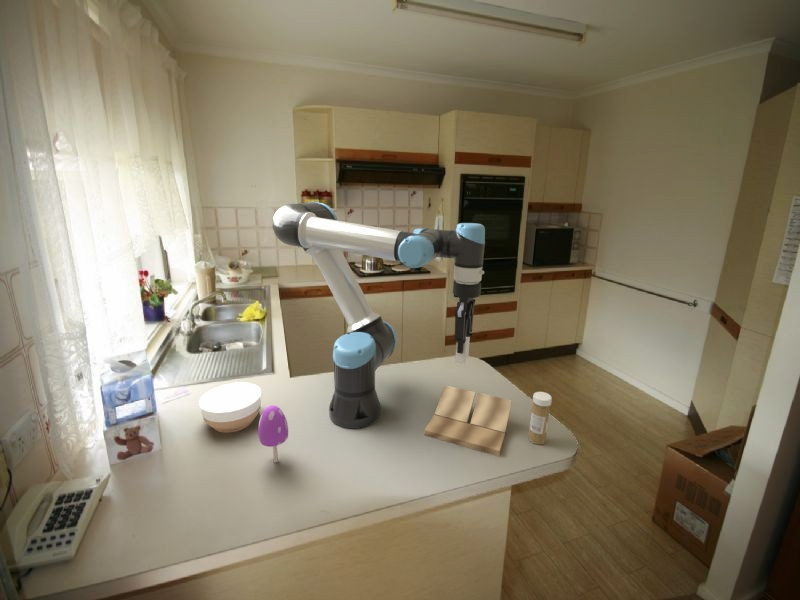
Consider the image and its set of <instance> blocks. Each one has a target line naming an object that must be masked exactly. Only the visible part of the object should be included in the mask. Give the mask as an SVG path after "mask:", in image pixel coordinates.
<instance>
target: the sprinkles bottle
mask: <svg viewBox="0 0 800 600" xmlns="http://www.w3.org/2000/svg"><path fill="white" fill-rule="evenodd" d="M552 399H553V397H552V395H550V394H549V393H548V392H545V391H536V392H535V391H534V393H533V396H532V407H531V408H532V409H531V414H530V421H529V430H528V431H529V432H528V436H527V438H528V440H529V442H531V443H532V444H535V445H538V446H540V445H544V444H546V441H547V439H546V438H547V432H548V426H549V416H550V411H551V410H550V409H551V405H552Z"/></svg>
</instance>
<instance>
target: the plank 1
mask: <svg viewBox="0 0 800 600" xmlns="http://www.w3.org/2000/svg"><path fill="white" fill-rule="evenodd" d="M475 397H476V392H475V391H472V390H467V389H464V388H463V389H462V388H459V387H454V386H449V385H445V384H444V385H443V389H442V391H441V394H440V397H439V400H438V403H437V405H436V408H435V412H434V415H437V416H441V417H445V418H449V419H453V420H456V421H460V422H464V423H468V422H469V419H470V415H471V412H472V408H473V404H474V401H475ZM468 424H469V423H468Z"/></svg>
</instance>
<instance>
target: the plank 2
mask: <svg viewBox="0 0 800 600" xmlns="http://www.w3.org/2000/svg"><path fill="white" fill-rule="evenodd" d="M512 403H513V400H511V399H507V398H504V397H503V398H502V397H498V396H493V395H489V394H485V393H482V392H481V393H480V392H478V394H477V398H476V402H475V405H474V410H473V412H472V416H471V419H470V422H469V424H472V425H476V426H480V427H483V428H487V429H491V430H495V431H499V432H503V433H505V434H506V432H507V427H508V422H509V417H510V414H511V413H510V412H511V408H512Z"/></svg>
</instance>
